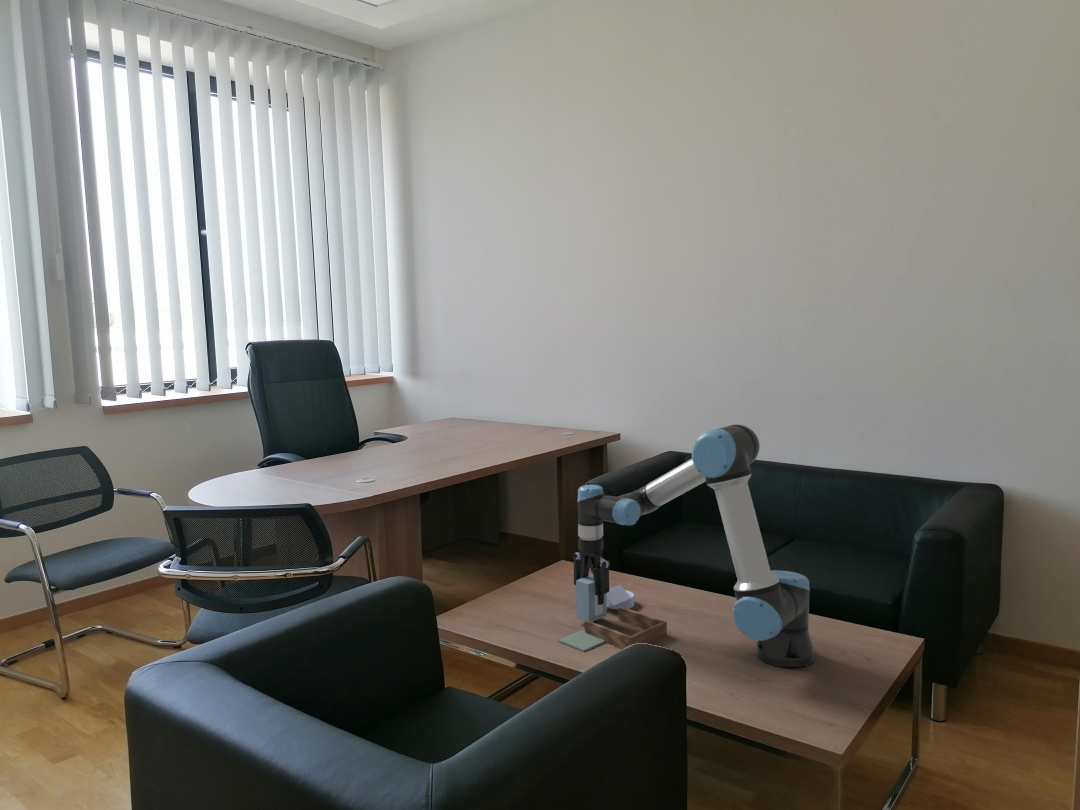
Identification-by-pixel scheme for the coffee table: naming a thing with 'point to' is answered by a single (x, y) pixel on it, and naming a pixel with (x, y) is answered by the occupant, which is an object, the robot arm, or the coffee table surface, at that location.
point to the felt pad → (581, 641)
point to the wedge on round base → (619, 598)
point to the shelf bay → (650, 624)
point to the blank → (588, 600)
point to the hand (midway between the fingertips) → (591, 611)
